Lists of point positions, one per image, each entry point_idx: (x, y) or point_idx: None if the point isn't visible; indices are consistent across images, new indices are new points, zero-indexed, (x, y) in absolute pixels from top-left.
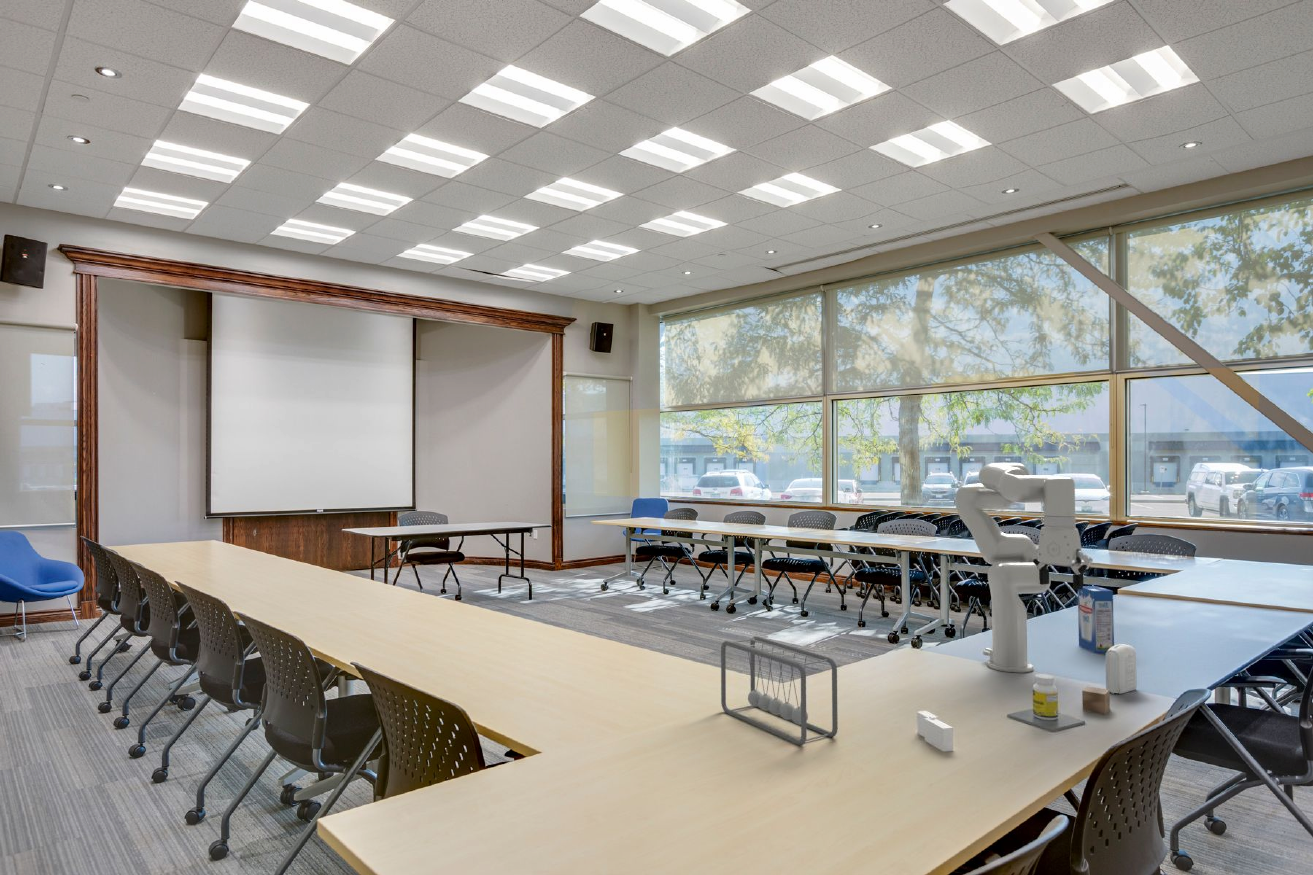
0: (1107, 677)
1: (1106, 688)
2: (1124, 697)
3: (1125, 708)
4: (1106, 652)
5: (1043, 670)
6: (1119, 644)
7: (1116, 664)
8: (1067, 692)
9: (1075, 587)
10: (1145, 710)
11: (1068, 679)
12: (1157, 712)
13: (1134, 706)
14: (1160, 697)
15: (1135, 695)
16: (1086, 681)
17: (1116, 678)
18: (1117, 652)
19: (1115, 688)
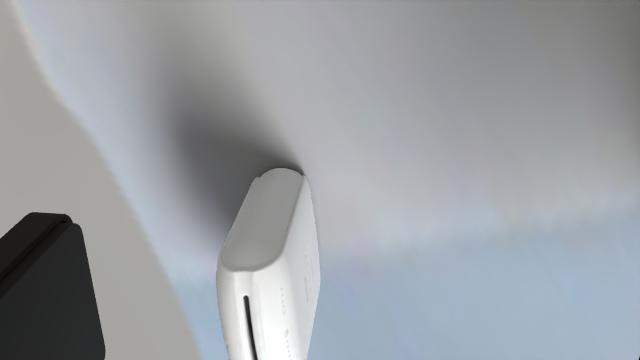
0: (292, 199)
1: (303, 177)
2: (228, 158)
3: (131, 22)
4: (275, 260)
5: (632, 253)
6: (259, 353)
7: (238, 233)
8: (382, 28)
9: (20, 226)
10: (88, 64)
11: (491, 212)
12: (57, 78)
13: (137, 78)
14: (177, 257)
15: (228, 213)
16: (432, 241)
17: (252, 200)
18: (222, 270)
19: (264, 178)
